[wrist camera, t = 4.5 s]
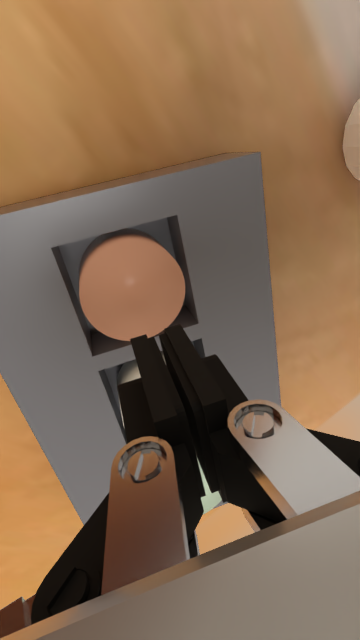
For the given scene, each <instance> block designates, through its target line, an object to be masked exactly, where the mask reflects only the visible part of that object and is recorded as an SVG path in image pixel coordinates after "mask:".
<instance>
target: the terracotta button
mask: <svg viewBox="0 0 360 640" xmlns="http://www.w3.org/2000/svg"><path fill="white" fill-rule="evenodd" d="M79 297H80V303H81V307H82V310H83V312H84V314H85V316H86V318H87V319H88V321H89V322H90V323H91V324H92V325H93V326H94V327H95V328H96V329H97V330H98V331H100V332H101V333H103V334H105V335H106V336H108V337H111V338H114V339H118V340H123V341H130V339H131V338H135V337H138V336H141V335H145V334H146V335H147V337H148V338H150V337H152V336H155V335H156V334H158V333H160V332H162V331H163V330H164V329H165V328H167V327H168V326H169V325H170V324H171V323H172V322H173V321H174V320H175V318H176V317H177V315H178V314H179V312H180V310H181V308H182V305H183V302H184V298H185V280H184V276H183V273H182V271H181V268H180V266H179V265H178V263H177V262H176V260H175V259H174V258H173V257H172V256H171V255H170V254H169V253H168V252H167V251H166V250H165V248H164V247H163V246H162V245H161V244H160V243H159V242H158V241H157V240H156V239H154V238H153V237H152V236H150V235H149V234H147V233H145V232H142V231H139V230H135V229H128V228H125V229H121V230H117V231H113V232H109V233H106V234H102V235H100V236H99V237H97V238H96V239H95V240H94V241H93V242H92V243H91V244H90V245H89V246H88V247H87V249H86V250H85V252H84V254H83V256H82V259H81V262H80V267H79Z"/></svg>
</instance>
